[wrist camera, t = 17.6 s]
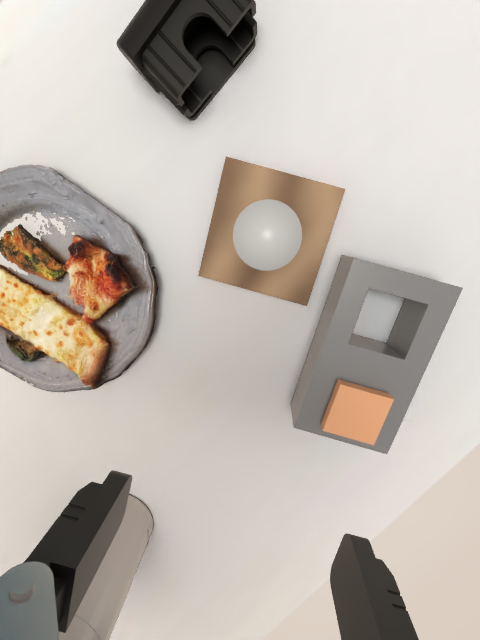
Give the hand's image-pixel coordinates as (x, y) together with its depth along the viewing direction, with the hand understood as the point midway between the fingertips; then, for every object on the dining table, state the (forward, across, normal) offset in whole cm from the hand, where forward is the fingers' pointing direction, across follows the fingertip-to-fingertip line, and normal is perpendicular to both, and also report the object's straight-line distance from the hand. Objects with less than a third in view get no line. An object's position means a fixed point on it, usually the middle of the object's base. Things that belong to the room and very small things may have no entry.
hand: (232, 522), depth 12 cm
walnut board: (+26, +1, -11) cm, 28 cm away
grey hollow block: (+26, -12, -2) cm, 28 cm away
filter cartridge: (+24, +1, -11) cm, 27 cm away
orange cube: (+24, -12, +3) cm, 27 cm away
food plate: (+27, +23, +1) cm, 36 cm away
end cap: (+26, +12, -25) cm, 38 cm away
